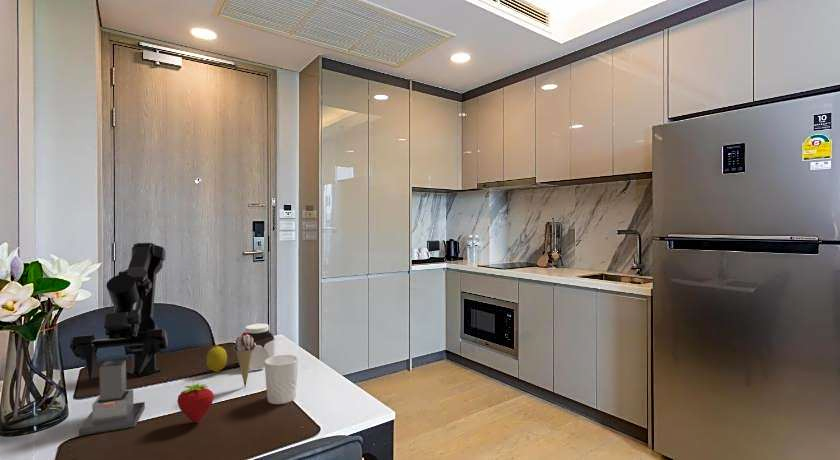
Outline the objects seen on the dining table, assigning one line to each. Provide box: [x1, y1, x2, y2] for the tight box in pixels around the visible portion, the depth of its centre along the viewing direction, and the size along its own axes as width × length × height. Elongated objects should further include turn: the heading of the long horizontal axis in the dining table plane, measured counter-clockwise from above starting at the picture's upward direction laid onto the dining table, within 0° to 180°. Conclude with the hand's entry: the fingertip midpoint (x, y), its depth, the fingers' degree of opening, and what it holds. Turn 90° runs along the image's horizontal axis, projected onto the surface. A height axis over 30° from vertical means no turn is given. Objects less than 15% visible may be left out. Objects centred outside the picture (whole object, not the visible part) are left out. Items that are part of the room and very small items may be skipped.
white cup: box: [264, 354, 299, 405], centre depth 108 cm, size 8×8×10 cm
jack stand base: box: [78, 389, 146, 437], centre depth 96 cm, size 10×10×6 cm
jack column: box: [98, 359, 127, 402], centre depth 96 cm, size 4×4×11 cm
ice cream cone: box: [232, 331, 256, 388], centre depth 115 cm, size 6×6×15 cm
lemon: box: [206, 345, 228, 374], centre depth 127 cm, size 6×6×8 cm
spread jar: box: [244, 323, 276, 371], centre depth 133 cm, size 12×11×12 cm
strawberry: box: [176, 379, 214, 424], centre depth 95 cm, size 6×8×10 cm
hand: (115, 375), depth 98 cm, fingers open, 9 cm apart
